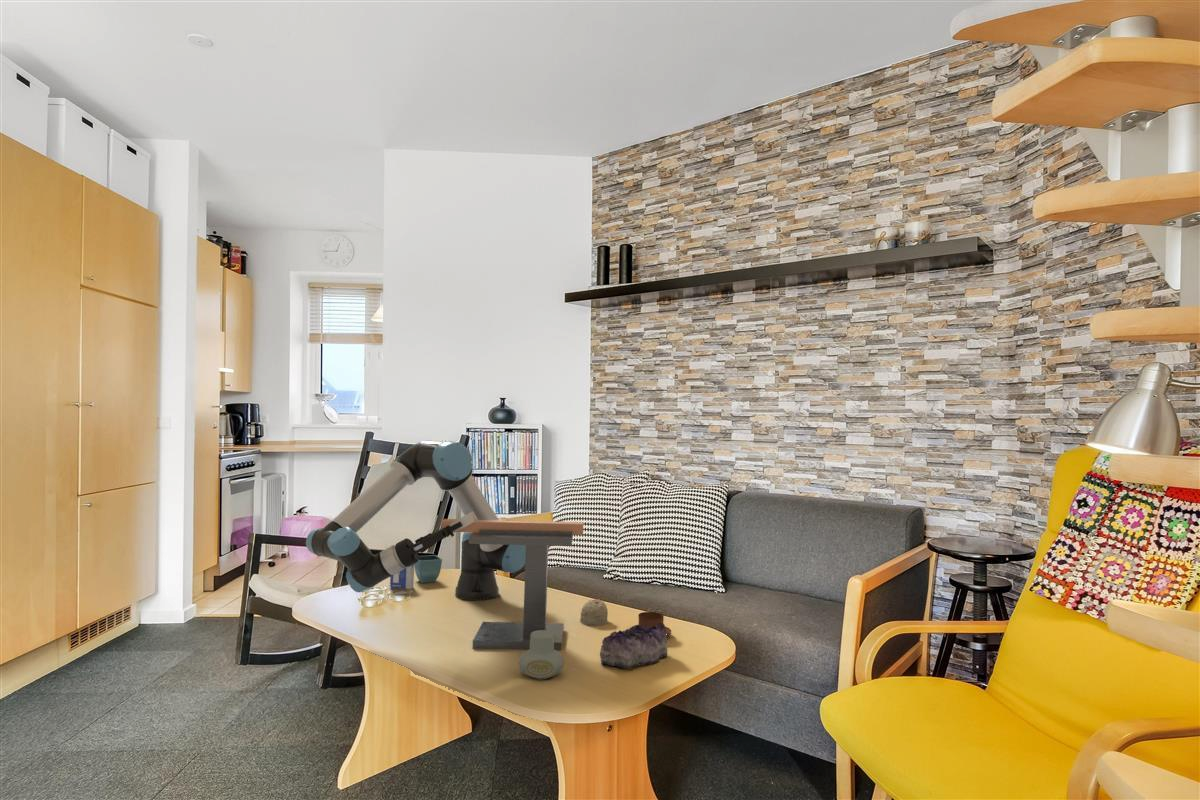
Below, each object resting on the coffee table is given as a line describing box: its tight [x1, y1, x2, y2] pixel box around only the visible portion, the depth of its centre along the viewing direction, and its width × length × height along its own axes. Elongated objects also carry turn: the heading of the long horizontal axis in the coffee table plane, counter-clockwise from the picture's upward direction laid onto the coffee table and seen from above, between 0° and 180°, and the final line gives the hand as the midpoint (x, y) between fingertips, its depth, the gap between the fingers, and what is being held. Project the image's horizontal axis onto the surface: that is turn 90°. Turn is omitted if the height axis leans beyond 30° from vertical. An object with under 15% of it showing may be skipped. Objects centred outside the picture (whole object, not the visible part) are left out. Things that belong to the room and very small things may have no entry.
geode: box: [599, 624, 668, 670], centre depth 177 cm, size 20×12×10 cm, turn 132°
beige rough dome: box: [579, 598, 608, 627], centre depth 211 cm, size 9×9×9 cm
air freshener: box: [518, 630, 565, 680], centre depth 165 cm, size 11×8×10 cm
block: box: [440, 518, 584, 536], centre depth 194 cm, size 40×4×3 cm, turn 91°
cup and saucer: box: [631, 611, 672, 638], centre depth 198 cm, size 12×12×6 cm
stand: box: [469, 529, 574, 651], centre depth 193 cm, size 28×18×31 cm, turn 91°
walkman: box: [389, 564, 415, 590], centre depth 248 cm, size 8×3×12 cm, turn 86°
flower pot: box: [414, 554, 443, 584], centre depth 259 cm, size 9×9×9 cm
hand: (473, 516), depth 193 cm, fingers closed on block, 4 cm apart
